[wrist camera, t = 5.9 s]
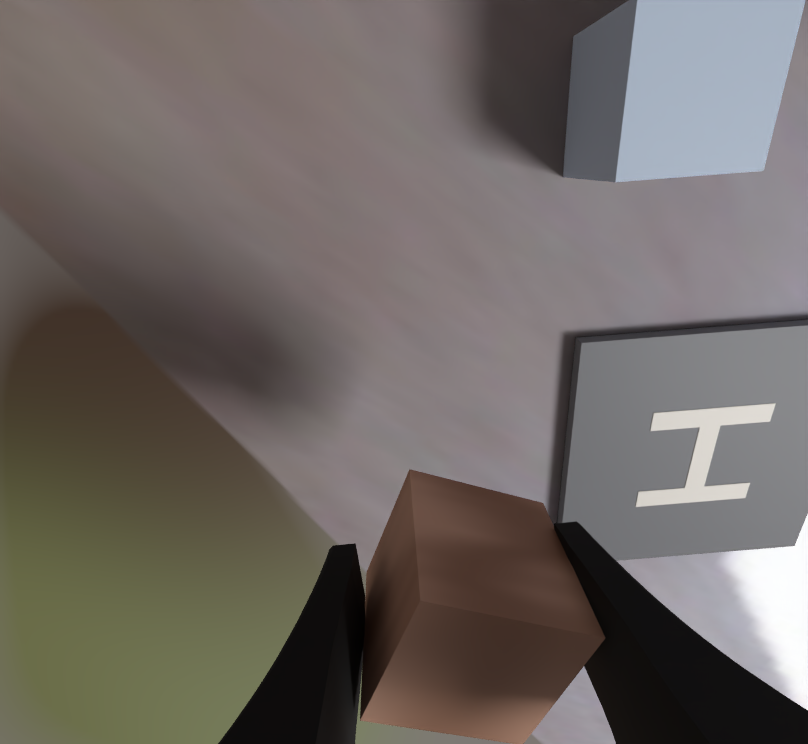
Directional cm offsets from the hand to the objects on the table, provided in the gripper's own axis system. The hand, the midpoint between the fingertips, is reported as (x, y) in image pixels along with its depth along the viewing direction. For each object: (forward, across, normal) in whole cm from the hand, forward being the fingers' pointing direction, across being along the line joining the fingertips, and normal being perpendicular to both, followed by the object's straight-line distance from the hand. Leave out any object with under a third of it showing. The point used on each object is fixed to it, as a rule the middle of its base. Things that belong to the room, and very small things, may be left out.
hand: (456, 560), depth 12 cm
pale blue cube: (+8, -7, -11) cm, 15 cm away
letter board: (+8, -12, +3) cm, 15 cm away
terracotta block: (+1, 0, 0) cm, 1 cm away
